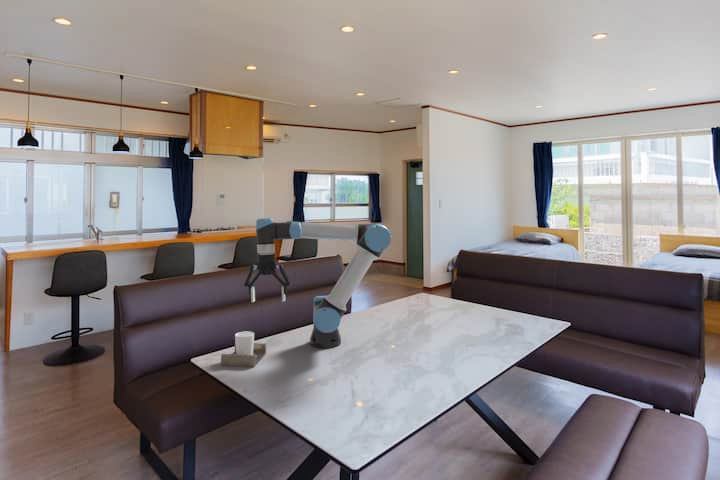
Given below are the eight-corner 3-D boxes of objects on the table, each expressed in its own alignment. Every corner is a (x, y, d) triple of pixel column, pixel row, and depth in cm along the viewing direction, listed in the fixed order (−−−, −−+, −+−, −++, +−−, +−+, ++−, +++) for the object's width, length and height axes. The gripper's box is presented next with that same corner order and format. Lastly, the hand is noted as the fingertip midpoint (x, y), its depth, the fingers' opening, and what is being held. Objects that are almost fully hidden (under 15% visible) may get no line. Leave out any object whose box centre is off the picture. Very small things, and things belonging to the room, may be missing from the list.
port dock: (266, 353, 182) (266, 343, 182) (254, 367, 166) (254, 356, 166) (235, 352, 183) (235, 342, 183) (221, 365, 168) (221, 355, 167)
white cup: (234, 360, 170) (234, 337, 169) (235, 354, 178) (235, 331, 177) (254, 359, 172) (254, 336, 171) (254, 352, 180) (254, 330, 179)
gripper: (235, 255, 175) (237, 303, 176) (292, 253, 174) (294, 302, 175) (241, 253, 182) (243, 300, 184) (296, 252, 181) (298, 298, 183)
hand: (268, 301), depth 180 cm, fingers open, 13 cm apart
